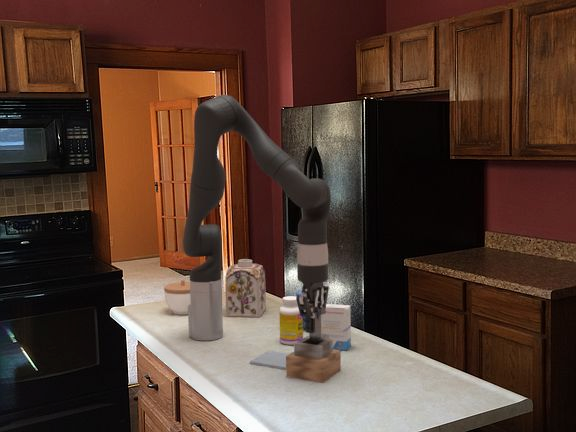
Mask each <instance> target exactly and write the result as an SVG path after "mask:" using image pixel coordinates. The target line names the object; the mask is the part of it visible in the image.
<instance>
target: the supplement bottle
mask: <svg viewBox="0 0 576 432" xmlns="http://www.w3.org/2000/svg"><path fill="white" fill-rule="evenodd" d="M282 303H283V304H282V305H281V306H280V308H279V310H278V311H279V342H280V343H281V344H283V345H288V346H294V343H296V342H298V341H299V340H301V339H303V338H304V329H303V317H301V316H300V312H299V308H298V304H297V300H296V295H287V296H284V297H282Z"/></svg>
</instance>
